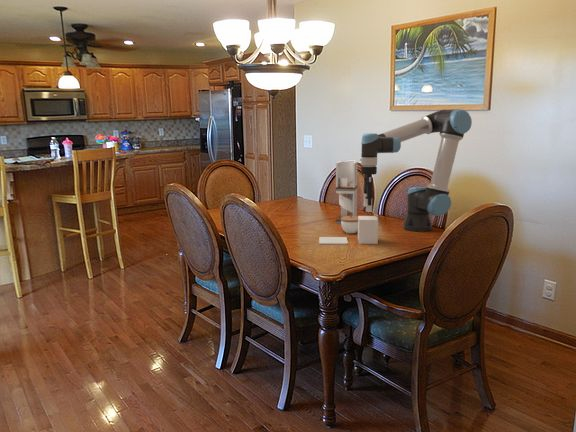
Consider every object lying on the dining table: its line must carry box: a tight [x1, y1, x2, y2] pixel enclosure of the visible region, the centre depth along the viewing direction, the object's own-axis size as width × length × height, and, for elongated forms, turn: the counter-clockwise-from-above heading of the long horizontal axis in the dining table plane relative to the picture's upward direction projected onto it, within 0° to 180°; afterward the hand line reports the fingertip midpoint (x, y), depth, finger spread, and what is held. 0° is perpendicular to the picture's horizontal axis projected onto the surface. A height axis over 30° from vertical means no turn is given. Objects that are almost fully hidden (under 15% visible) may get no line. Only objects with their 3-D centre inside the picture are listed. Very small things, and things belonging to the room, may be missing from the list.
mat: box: [318, 236, 349, 246], centre depth 235 cm, size 14×12×1 cm
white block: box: [357, 215, 379, 245], centre depth 233 cm, size 9×9×12 cm
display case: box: [335, 160, 358, 225], centre depth 274 cm, size 11×11×35 cm
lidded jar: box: [340, 215, 358, 234], centre depth 252 cm, size 11×11×9 cm
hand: (367, 209), depth 231 cm, fingers open, 13 cm apart
